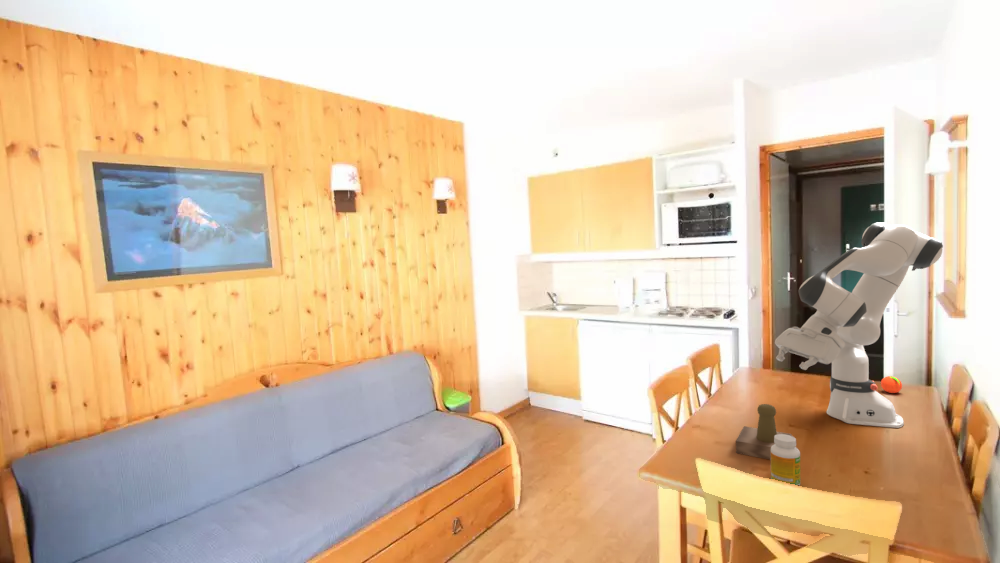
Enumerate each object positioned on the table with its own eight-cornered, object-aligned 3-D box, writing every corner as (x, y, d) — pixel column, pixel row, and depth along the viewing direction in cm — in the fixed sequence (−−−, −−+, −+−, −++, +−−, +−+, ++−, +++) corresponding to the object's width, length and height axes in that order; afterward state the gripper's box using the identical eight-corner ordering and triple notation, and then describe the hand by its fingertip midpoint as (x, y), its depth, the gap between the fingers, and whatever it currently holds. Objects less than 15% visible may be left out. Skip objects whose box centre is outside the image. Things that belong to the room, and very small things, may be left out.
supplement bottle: (800, 490, 130) (800, 444, 129) (770, 485, 134) (769, 440, 133) (800, 479, 136) (800, 435, 135) (771, 474, 140) (771, 431, 139)
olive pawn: (780, 443, 150) (780, 408, 150) (759, 442, 152) (759, 408, 151) (774, 435, 156) (773, 402, 156) (753, 434, 158) (753, 401, 157)
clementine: (908, 395, 197) (908, 378, 196) (891, 396, 197) (891, 379, 196) (893, 389, 205) (893, 373, 204) (876, 390, 205) (876, 374, 204)
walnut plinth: (791, 445, 157) (791, 433, 157) (786, 462, 146) (786, 450, 146) (744, 437, 165) (744, 426, 165) (736, 452, 154) (735, 440, 154)
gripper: (786, 319, 167) (760, 349, 166) (839, 333, 147) (811, 367, 146) (796, 331, 168) (771, 360, 168) (850, 346, 149) (822, 379, 148)
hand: (790, 363), depth 157 cm, fingers open, 8 cm apart
